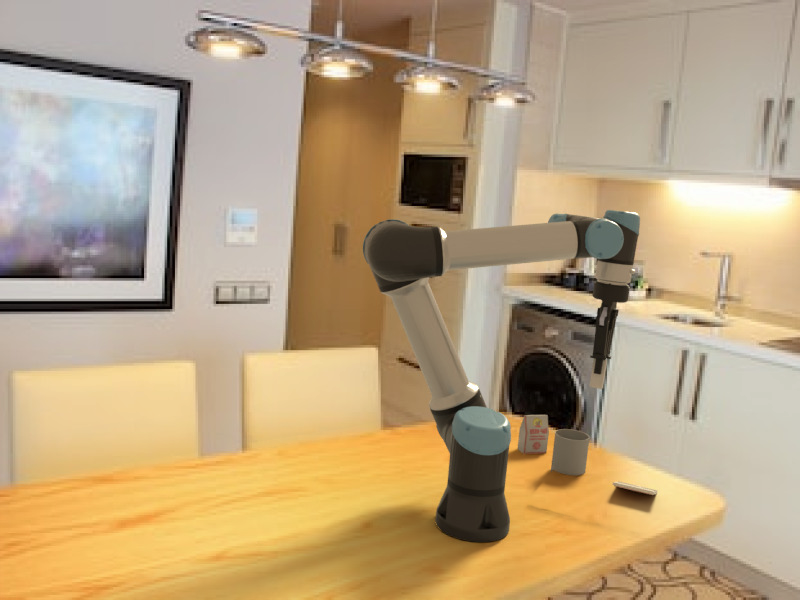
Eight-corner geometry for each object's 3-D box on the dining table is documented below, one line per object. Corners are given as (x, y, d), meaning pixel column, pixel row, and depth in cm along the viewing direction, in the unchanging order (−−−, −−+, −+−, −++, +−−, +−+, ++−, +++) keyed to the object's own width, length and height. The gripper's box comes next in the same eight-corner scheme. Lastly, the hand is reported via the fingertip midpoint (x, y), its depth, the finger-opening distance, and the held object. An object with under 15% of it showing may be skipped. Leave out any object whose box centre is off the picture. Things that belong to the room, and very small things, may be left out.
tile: (612, 481, 171) (612, 485, 171) (653, 491, 167) (653, 495, 167) (618, 481, 181) (617, 485, 180) (657, 490, 177) (656, 494, 177)
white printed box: (517, 448, 202) (521, 413, 200) (540, 448, 204) (544, 412, 202) (523, 453, 199) (527, 417, 197) (546, 453, 200) (550, 417, 199)
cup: (575, 482, 182) (580, 442, 180) (545, 472, 186) (549, 434, 185) (590, 473, 188) (594, 435, 187) (559, 464, 193) (564, 426, 192)
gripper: (625, 287, 155) (607, 397, 159) (634, 282, 167) (618, 385, 171) (589, 281, 158) (572, 389, 162) (600, 277, 170) (585, 378, 174)
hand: (596, 387), depth 166 cm, fingers closed
